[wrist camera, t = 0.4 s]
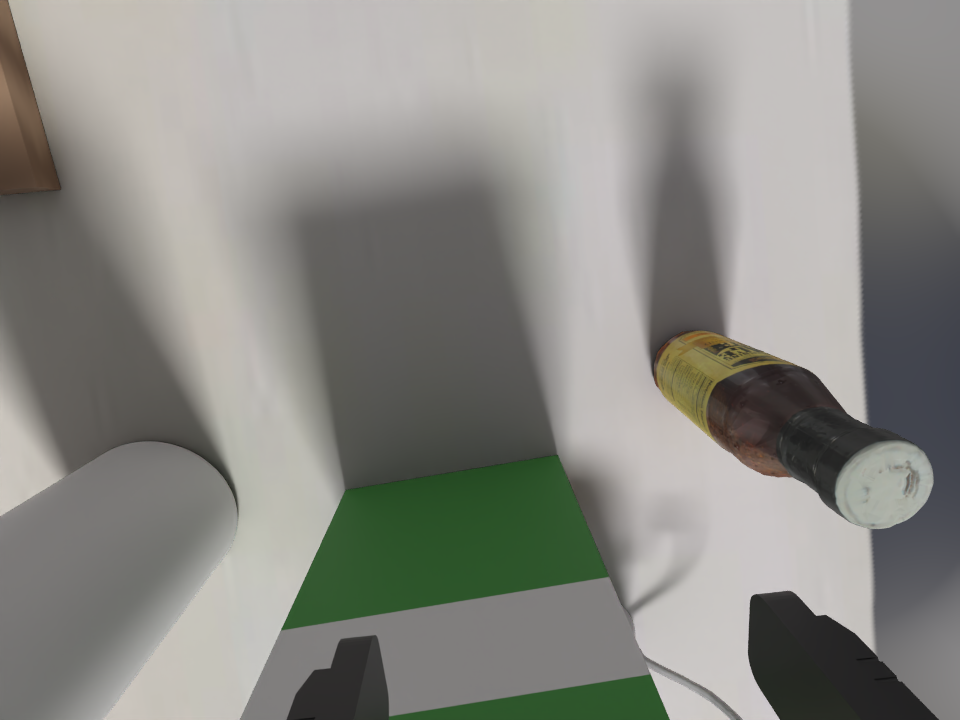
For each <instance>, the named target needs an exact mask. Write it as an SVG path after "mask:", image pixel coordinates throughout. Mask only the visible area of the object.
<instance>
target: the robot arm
mask: <svg viewBox="0 0 960 720" xmlns="http://www.w3.org/2000/svg"><path fill="white" fill-rule="evenodd" d="M748 657H749V663H750V667H751V670H752V673H753V675H754V678H755V680H756V682H757V684H758V686H759V688H760V689H761V691H762V692H763V694H764V696H765V697H766V699H767V700H768V702H769V703H770V705H771V706H772V708H773V709H774V711H775V713H776V714H777V716H778V717H779V719H780V720H939V719H938V718H937V717H936V716H935V715H934V714H933V713H931V711H930V710H929V709H928V708H927V707H926V706H925V705H924V704H923V703H922V702H921V701H920V700H919V699H918V698H917V697H916V696H915V695H914V694H913V693H912V692H911V691H910V690H909V689H908V688H907V687H906V686H905V684H903V682H899V681H898V679H897V677H896V675H895V674H894V673H893V672H892V671H891V670H890V669H889V668H888V667H887V666H886V665H885V664H884V663H883V662H880V661H879V660H878V657H877V656H876V655H875V654H874V653H873V652H872V651H871V650H870V648H869V647H868V646H867V645H866V644H865V643H864V642H863V641H862V640H861V639H860V638H859V637H858V636H857V635H856V634H855V633H853V632H852V631H850V630H849V629H847V628H845V627H844V626H842V625H841V624H839V623H838V622H836V621H834V620H833V619H831V618H830V617H828V616H827V615H821V616H816V615H815V614H814V613H813V612H812V611H811V610H810V609H809V608H808V607H807V606H806V605H805V603H804V602H803V601H802V600H801V599H800V598H799V597H798V596H797V595H796V594H795V593H793V592H791V591H783V592H774V593H765V594H755V595H753V596H752V597H751V600H750V615H749V640H748ZM286 720H389V696H388V688H387V683H386V678H385V672H384V667H383V661H382V656H381V651H380V645H379V641H378V638H377V636H376V635H370V636H361V637H352V638H343V639H340V641H339V643H338V645H337V648H336V651H335V655H334V658H333V661H332V664H331V668H327V669H318V670H314V671H313V672H312V673H311V675H310V676H309V677H308V679H307V680H306V681H305V682H304V684H303V685H302V686H301V688H300V689H299V690H298V692H297V693H296V695H295V697H294V700H293V703H292V706H291V708H290V711H289V714H288V717H287V719H286Z"/></svg>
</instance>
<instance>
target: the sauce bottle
mask: <svg viewBox="0 0 960 720" xmlns="http://www.w3.org/2000/svg"><path fill="white" fill-rule="evenodd" d="M654 380H655V384H656V386H657V387H658V388H659V389H660V391H661V392H662V394H663V395H664V397H665V398H666V399H667V400H668V401H669V402H670V403H671V404H673V405H674V406H675V407H676V408H677V409H678V410H679V411H681V412H682V413H683V414H684V415H685V416H686V417H687V418H689V419H690V420H691V421H692V422H693V423H694V424H695V425H697V426H698V427H699V428H700V429H701V430H702V431H703V432H705V433H706V434H707V435H708V436H709V437H710V438H711V439H713V440H714V441H715V442H716V443H717V444H718V445H720V446H721V447H722V448H723V449H725V450H727V451H728V452H730V453H732V454H733V455H734V456H735V457H736V458H737V459H739V460H740V462H742V463H743V464H745V465H746V466H747V467H749V468H751V469H753V470H755V471H757V472H759V473H761V474H763V475H767V476H775V477H793V478H795V479H797V480H799V481H801V482H803V483H805V484H807V485H808V486H809V487H810V488H812V489H813V490H815V491H816V492H817V493H818V494H819V496H820V498H821V500H822V501H823V502H824V503H825V504H826V505H827V506H828V507H829V508H831V509H832V510H833V511H835V512H836V513H837V514H839V515H840V516H842V517H843V518H845V519H846V520H848V521H849V522H850V523H853V524H855V525H858V526H862V527H865V528H869V529H882V528H888V527H891V526H893V525H895V524H897V523H901V522H903V521H905V520H907V519H909V518H910V517H912V516H913V515H914V514H915V513H916V512H917V511H918V510H919V509H920V508H921V507H922V506H923V505H924V503H925V502H926V501H927V499H928V497H929V494H930V492H931V490H932V486H933V470H932V467H931V464H930V461H929V459H928V457H927V455H926V454H925V453H924V452H923V450H921V449H920V448H919V447H918V446H917V445H915V444H914V443H912V442H911V441H908V440H906V439H905V438H902V437H900V436H899V435H898V434H895V433H893V432H891V431H888V430H886V429H881V428H873V427H871V426H869V425H867V424H864V423H862V422H860V421H858V420H855V419H854V418H853V417H851V416H850V415H848V414H847V413H846V411H845V410H844V409H843V408H842V406H841V405H840V404H839V403H838V401H837V400H836V399H835V398H834V397H833V395H832V394H831V393H830V392H829V390H828V389H827V388H826V387H825V385H824V384H823V383H822V382H821V380H820V379H819V378H818V377H817V376H816V375H815V374H813V373H812V372H810V371H809V370H807V369H805V368H802V367H800V366H797V365H795V364H793V363H790V362H788V361H785V360H782V359H780V358H777V357H775V356H772V355H770V354H768V353H765V352H763V351H760V350H757V349H755V348H752V347H750V346H747V345H745V344H742V343H739V342H737V341H734V340H732V339H730V338H727V337H724V336H722V335H720V334H717V333H714V332H710V331H685V332H681V333H679V334H678V335H676V336H674V337H672V338H671V339H670V340H669V341H668V342H667V343H666V344H664V345H663V346H662V347H661V348H660V350H659V351H658V353H657V356H656V360H655V363H654Z"/></svg>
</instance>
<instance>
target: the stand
mask: <svg viewBox="0 0 960 720" xmlns="http://www.w3.org/2000/svg"><path fill="white" fill-rule="evenodd" d="M50 190H61V188H60V184H59V181H58V177H57V174H56V170H55V167H54V163H53V160H52V156H51V153H50V149H49V146H48V142H47V138H46V135H45V131H44V128H43V124H42V121H41V117H40V114H39V110H38V107H37V103H36V100H35V96H34V93H33V89H32V86H31V82H30V79H29V75H28V71H27V68H26V64H25V61H24V57H23V54H22V50H21V47H20V43H19V40H18V36H17V33H16V29H15V26H14V22H13V19H12V15H11V11H10V8H9V4H8V1H7V0H0V195H7V194H18V193H28V192H39V191H50Z"/></svg>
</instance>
